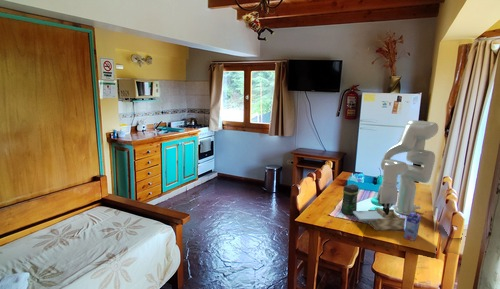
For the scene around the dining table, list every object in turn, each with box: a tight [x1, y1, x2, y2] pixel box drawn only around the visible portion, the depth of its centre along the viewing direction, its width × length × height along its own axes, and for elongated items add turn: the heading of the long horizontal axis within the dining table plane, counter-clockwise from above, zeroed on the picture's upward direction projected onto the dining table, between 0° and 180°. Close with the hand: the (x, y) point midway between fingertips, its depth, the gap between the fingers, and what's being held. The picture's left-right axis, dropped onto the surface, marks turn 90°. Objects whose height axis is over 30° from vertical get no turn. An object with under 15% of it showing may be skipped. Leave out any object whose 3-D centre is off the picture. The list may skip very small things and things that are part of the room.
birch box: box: [366, 208, 406, 232], centre depth 175 cm, size 16×12×8 cm
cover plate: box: [353, 207, 387, 222], centre depth 174 cm, size 16×10×4 cm, turn 93°
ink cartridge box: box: [403, 212, 422, 242], centre depth 163 cm, size 10×6×14 cm, turn 140°
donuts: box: [369, 196, 383, 210], centre depth 191 cm, size 10×10×10 cm
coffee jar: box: [340, 183, 360, 216], centre depth 191 cm, size 10×8×19 cm
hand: (385, 213), depth 174 cm, fingers closed
